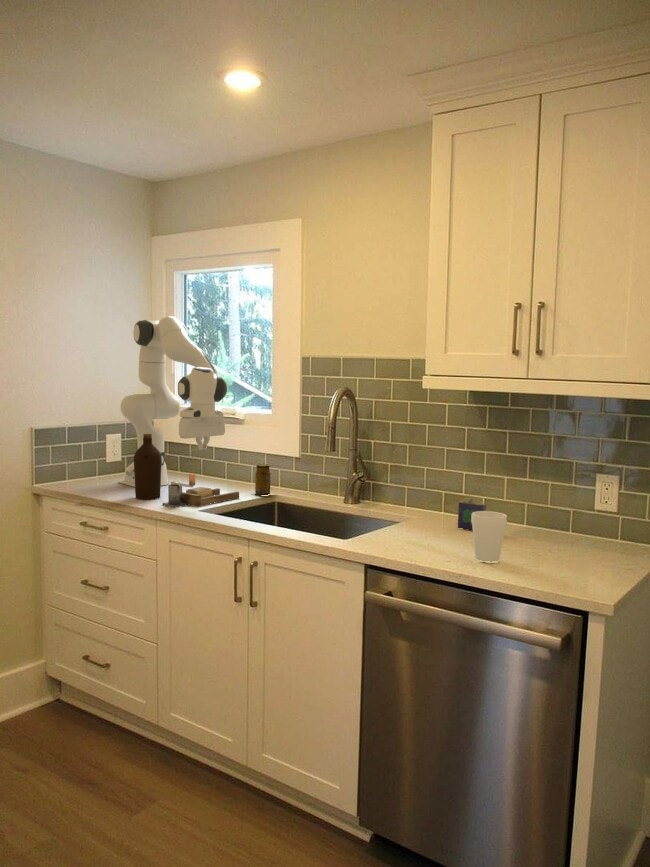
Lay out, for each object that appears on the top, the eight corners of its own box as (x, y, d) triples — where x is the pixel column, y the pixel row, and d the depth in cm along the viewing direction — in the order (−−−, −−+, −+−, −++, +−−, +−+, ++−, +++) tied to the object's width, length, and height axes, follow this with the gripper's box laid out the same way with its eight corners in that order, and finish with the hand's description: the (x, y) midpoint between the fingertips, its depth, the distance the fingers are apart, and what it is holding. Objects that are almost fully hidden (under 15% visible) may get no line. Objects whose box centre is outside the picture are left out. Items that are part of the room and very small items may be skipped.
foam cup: (464, 561, 199) (466, 515, 198) (477, 554, 207) (479, 509, 206) (497, 567, 194) (499, 519, 193) (509, 560, 202) (511, 514, 200)
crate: (185, 503, 274) (185, 489, 274) (200, 500, 281) (200, 486, 281) (197, 505, 271) (197, 491, 271) (212, 502, 278) (212, 488, 277)
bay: (175, 502, 275) (175, 491, 274) (217, 494, 292) (217, 484, 292) (197, 506, 268) (197, 495, 267) (239, 498, 285) (239, 488, 285)
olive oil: (166, 498, 282) (166, 434, 279) (140, 501, 276) (139, 435, 273) (155, 494, 290) (154, 432, 288) (129, 496, 284) (129, 433, 282)
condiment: (265, 492, 299) (265, 463, 298) (277, 495, 293) (277, 466, 292) (250, 494, 295) (250, 464, 294) (262, 497, 288) (262, 467, 287)
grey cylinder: (162, 505, 269) (162, 485, 268) (176, 502, 274) (176, 483, 274) (175, 507, 265) (175, 487, 264) (188, 505, 270) (188, 485, 269)
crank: (169, 484, 268) (169, 471, 268) (175, 483, 271) (175, 470, 270) (190, 488, 261) (190, 475, 261) (197, 487, 264) (197, 473, 264)
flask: (486, 530, 237) (487, 498, 236) (483, 532, 234) (484, 499, 233) (459, 527, 241) (460, 495, 240) (455, 528, 239) (456, 496, 238)
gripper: (216, 409, 276) (216, 446, 277) (176, 412, 260) (176, 450, 261) (228, 410, 272) (228, 447, 274) (188, 413, 256) (188, 452, 257)
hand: (202, 449), depth 267 cm, fingers closed
